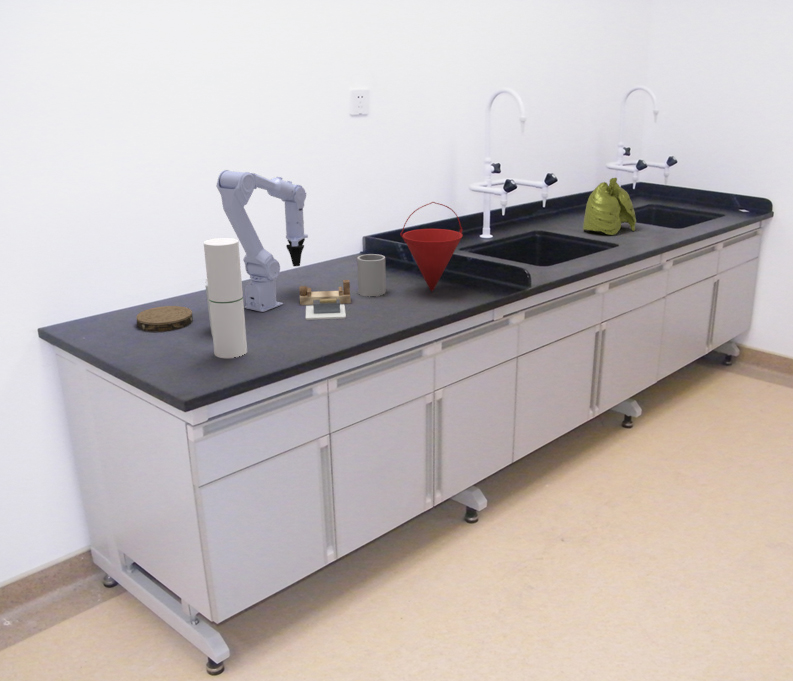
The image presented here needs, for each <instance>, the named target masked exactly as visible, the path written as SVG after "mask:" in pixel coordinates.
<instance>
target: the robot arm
mask: <svg viewBox="0 0 793 681" xmlns="http://www.w3.org/2000/svg"><path fill="white" fill-rule="evenodd" d="M216 188H217V190H218V193H219V194H220V197H221V203H222V207H223V211H224V214H225V215H226V218H228V221H229V223H230V225H231V227H232V229H233V231H234V233H235V235H236V236H237V240H238V242H240V244H241V246H242V248H243V250H244V252H245V255H244V257H243V260H242V261H243V262H244V267H245V271H246V273H247V275H249V280H251V281H250V282H249V283H247V284H246V285H245V287H244V293H245V294H244V295H245V306H244V309H247V310H252V311H257V312H261V313H262V312H266V311H270V310H271V309H274V308H275V309H276V308H277V307H280V306H282V305H284V304H283V302H280V301H277V300H278V299H277V286H276V280H277V279H278V277H279V275H280V272H281V265H280V262H279V261H278V260H277V259H275V257H274V255H273V254H272V253H271V252H269V251H268V250H266V249H265V247H264V246H263V244H262V242H261V240H260V238H259V236H258V234H257V232H256V230H255V228H254V226H253V223H252V221H251V219H250V217H249V215H248V213H247V211H246V209H245V207H246V205H247V204H248V203H249V200H251V199H250V198H251V197H252V194H253V192H254V190H256V189H257V188H258V189H262V190H265V191H266V192H267V194H268V195H269V196H270V197H273V198H276V199H280V200H281V201H282V202H283V203H284V216H285V234H286V235H285V238H286V240H287V242H288V244H286V249H287V251H288V253H289V255H290V259H291V263H292V266H293V267H300V266H301V260H302V253H303V251H304V248H305V245H304V242H305V240H306V239H308V238H309V235H308V234H305V228H304V227H305V225H304V223H305V222H304V207H305V202H306V201H305V200H306V198H307V192H306V190H305V188H304V187H303V186H302V185H301V184H295V183H294V184H293V182H292V181H290V180H287V181H286V180H283V177H282V176H276V177H272V178H271V179H269V178H267V177H264V176H262V175H259V174H257V173H254V172H248V171H243V172H242V171H234V170H233V171H232V170H229V169H224V170H222V171H221V172H220V173H219V175H218V176H217V182H216Z"/></svg>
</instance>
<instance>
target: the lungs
mask: <svg viewBox="0 0 793 681" xmlns="http://www.w3.org/2000/svg"><path fill="white" fill-rule="evenodd" d="M617 181H618V178H617V177H611V178H610V179H609V183H607V182H605V181H604V182H601V183H599V184H598V185H597V186H596V187H595V188H594V189H593V191H592V192H591V193H590V195H589V197H588V199H587V202H586V206H585V213H584V216H583V217H584V218H583V226H582V231H584V230H586V231H592V232H593V231H594V232H601V233H604V234H606V235H611V236H614V235H616V234H618V233H619V231H620V229H621V228H622V224H625V223H626V224H629V227H630V229H631V230H632V231H633V232H635V231H636V224H637V219H636V212H635V209H634V205H633V202H632V200H631V197H630V195H629V193H628V192H627V190H625V189H624V188H622V186H620V185H619V183H618V182H617ZM584 232H585V231H584Z"/></svg>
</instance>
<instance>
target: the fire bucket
mask: <svg viewBox="0 0 793 681" xmlns="http://www.w3.org/2000/svg"><path fill="white" fill-rule="evenodd" d="M432 204H436V205H439V206H443V207H446V208H447V209H449V210H451V211H452V212H453V214H455V216H456V218H457V220H458V224H459V231H455V230H451V229H445V228H443V229H442V228H421V229H420V228H419V229H413V230H410V231H405V232H404V230H405V226H406V225H407V222H408V221H409V219H410V218H411V216H412V215H413V214H414V213H416V212H417V211H418V210H420V209H422V208H423V207H426V206H428V205H432ZM461 225H462V224H461V222H460V218H459V216H458V215H457V213H456V212H455V211H454V210H453V209H452V208H450V207H449V206H447V205H445V204H442V203H439V202H438V203H437V202H435V201H431V202H429V203H426V204H424V205H422V206H419V207H418V208H416V209H415V210H414V211H413V212H411V214H410V215H409V216H407V219H406V221H405V223H404V225H403V227H402V231H401V232H400V234H399V235H400V237H401V238H402V240H403V241H404V243H406V246H407V247H408V249H409V251H410V254H411V255H412V257H413V259H414V261H415V264H416V265H417V267H418V269H419V271H420V273H421V276H423V279H424V281H425V283H426V285H427V286H428V288H429V290H430V292H433V291H434V290H435V288H436V286H438V284H439V281H440V279H441V277H442V276H443V273H444V271H445V270H446V268H447V266H448V264H449V262H450V260H451V258H452V257H453V255H454V252H455V251H456V249H457V247H458V245H459V243H460V242H461V240H462V238H463V236H464V235H463V227H462V226H461ZM403 232H404V233H403Z"/></svg>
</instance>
